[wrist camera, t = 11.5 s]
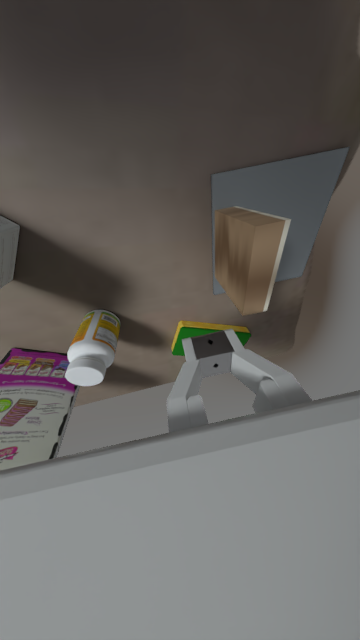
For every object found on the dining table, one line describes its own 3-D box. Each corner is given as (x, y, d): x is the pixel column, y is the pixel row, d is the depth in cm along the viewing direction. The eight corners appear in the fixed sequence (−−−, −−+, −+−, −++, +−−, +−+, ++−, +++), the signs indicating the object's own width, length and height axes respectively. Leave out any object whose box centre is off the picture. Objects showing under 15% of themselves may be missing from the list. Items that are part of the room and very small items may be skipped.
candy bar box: (16, 364, 29) (-84, 501, 16) (11, 346, 26) (-114, 494, 14) (86, 371, 33) (48, 485, 20) (88, 355, 30) (46, 476, 18)
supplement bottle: (88, 334, 27) (65, 391, 19) (79, 308, 23) (48, 364, 16) (122, 334, 28) (113, 387, 21) (118, 308, 24) (106, 362, 17)
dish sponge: (179, 318, 28) (181, 328, 26) (246, 325, 32) (252, 334, 30) (170, 345, 32) (172, 355, 31) (231, 349, 36) (235, 358, 34)
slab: (214, 210, 18) (255, 226, 11) (236, 206, 18) (291, 219, 11) (214, 276, 23) (242, 315, 16) (231, 273, 23) (266, 310, 16)
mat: (211, 174, 16) (212, 174, 16) (346, 147, 16) (349, 146, 16) (213, 293, 25) (214, 294, 25) (299, 275, 25) (301, 276, 25)
